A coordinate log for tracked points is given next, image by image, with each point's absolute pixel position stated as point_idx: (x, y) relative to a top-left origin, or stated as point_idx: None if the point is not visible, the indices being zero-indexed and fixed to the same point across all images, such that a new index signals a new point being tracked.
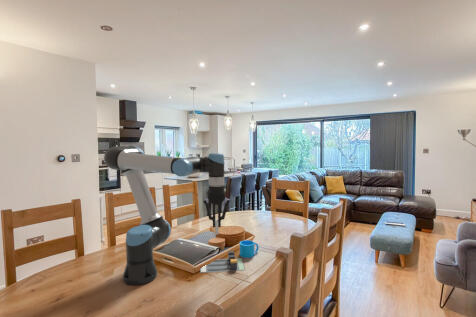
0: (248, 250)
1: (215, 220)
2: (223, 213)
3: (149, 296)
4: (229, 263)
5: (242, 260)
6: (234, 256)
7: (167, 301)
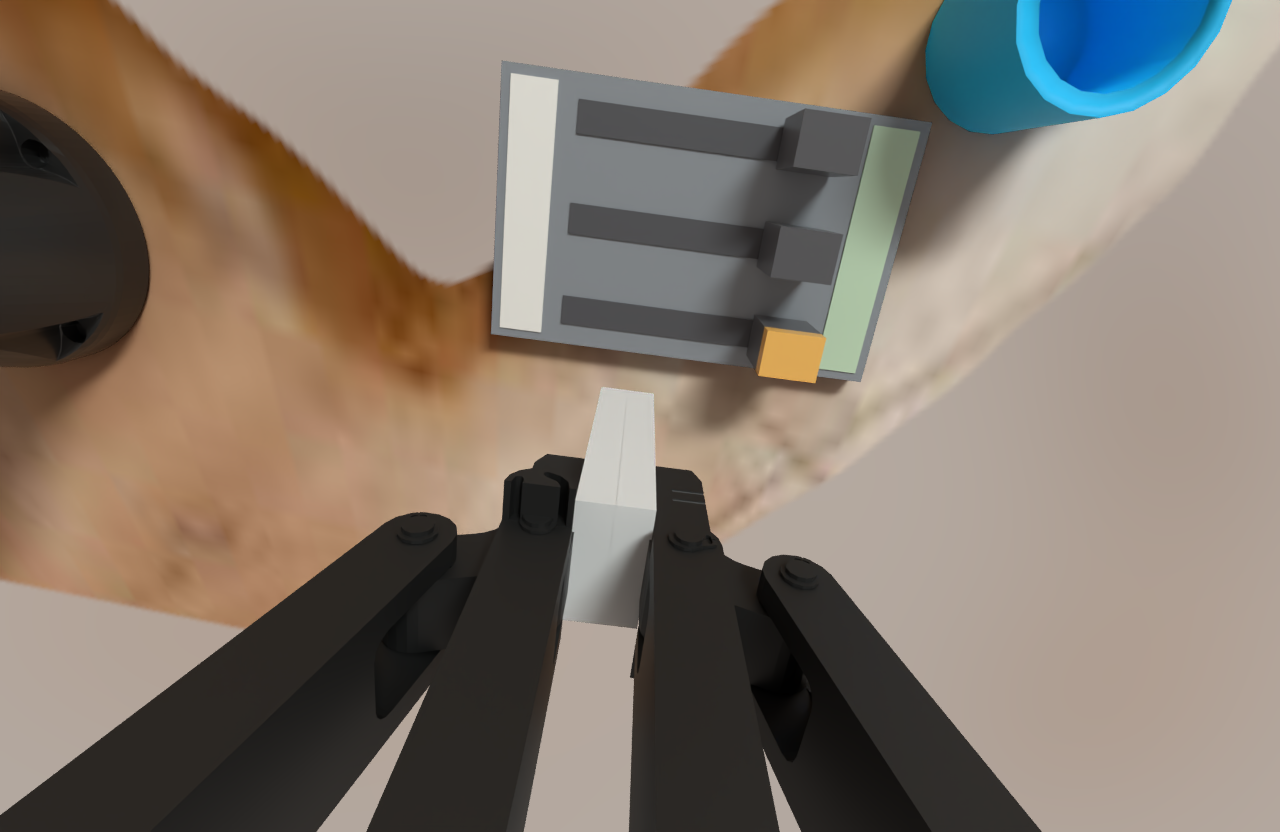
0: (1048, 121)
1: (576, 568)
2: (808, 819)
3: (196, 501)
4: (760, 269)
5: (911, 187)
6: (826, 276)
7: (317, 568)
